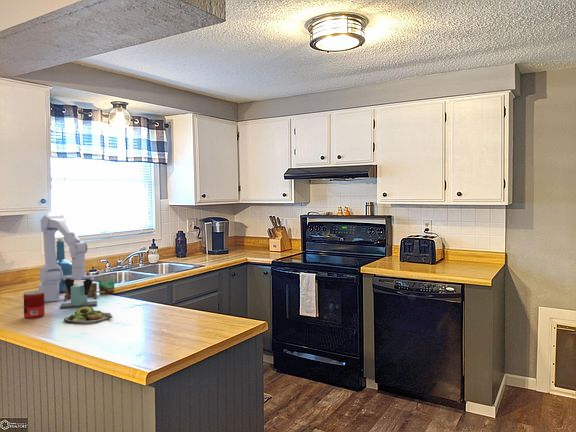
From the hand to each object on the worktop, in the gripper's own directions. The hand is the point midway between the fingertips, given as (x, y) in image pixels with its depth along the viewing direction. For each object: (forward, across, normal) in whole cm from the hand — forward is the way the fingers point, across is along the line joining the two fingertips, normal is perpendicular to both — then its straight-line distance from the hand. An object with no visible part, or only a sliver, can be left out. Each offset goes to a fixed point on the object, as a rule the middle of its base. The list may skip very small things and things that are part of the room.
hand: (78, 294), depth 223 cm
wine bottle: (+6, +31, -38) cm, 49 cm away
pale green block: (+4, 0, 0) cm, 4 cm away
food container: (+6, 0, -33) cm, 34 cm away
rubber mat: (+5, 0, 0) cm, 5 cm away
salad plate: (+6, -17, +25) cm, 31 cm away
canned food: (+6, +8, +23) cm, 25 cm away
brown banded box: (+5, +8, -18) cm, 20 cm away
